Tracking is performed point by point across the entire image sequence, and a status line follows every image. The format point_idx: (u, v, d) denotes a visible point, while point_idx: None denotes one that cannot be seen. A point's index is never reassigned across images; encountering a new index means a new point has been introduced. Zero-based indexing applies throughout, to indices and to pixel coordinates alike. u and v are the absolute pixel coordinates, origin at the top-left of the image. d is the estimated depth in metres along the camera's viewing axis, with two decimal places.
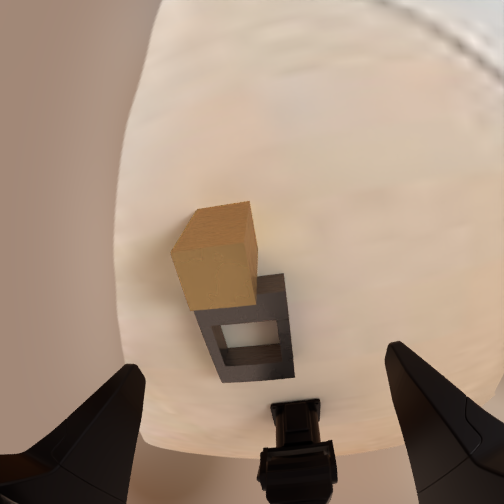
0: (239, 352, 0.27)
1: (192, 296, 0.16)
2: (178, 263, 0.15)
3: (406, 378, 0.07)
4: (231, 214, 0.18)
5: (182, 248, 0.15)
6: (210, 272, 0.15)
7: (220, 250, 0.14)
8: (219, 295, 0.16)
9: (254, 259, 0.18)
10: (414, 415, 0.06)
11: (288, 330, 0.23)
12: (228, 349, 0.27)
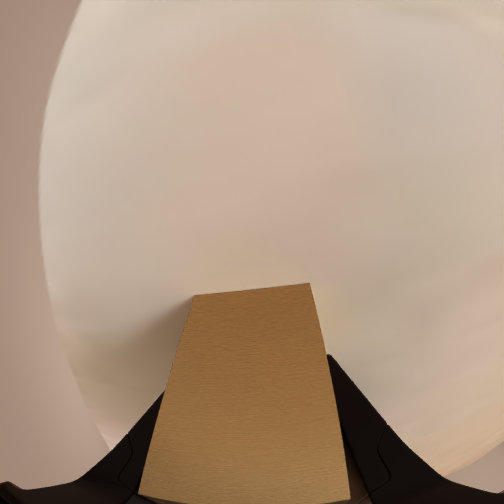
0: None
1: None
2: (163, 503, 0.04)
3: None
4: (281, 340, 0.07)
5: (168, 486, 0.04)
6: None
7: None
8: None
9: None
10: None
11: None
12: None
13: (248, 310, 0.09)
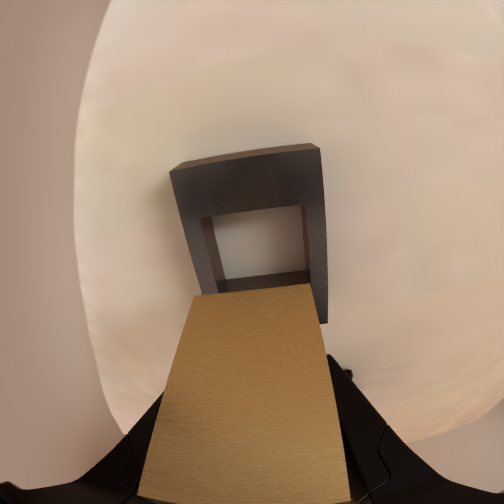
0: (243, 283, 0.18)
1: None
2: None
3: None
4: (281, 340, 0.07)
5: (167, 488, 0.04)
6: None
7: None
8: None
9: None
10: None
11: (323, 226, 0.14)
12: (226, 281, 0.19)
13: (248, 310, 0.08)
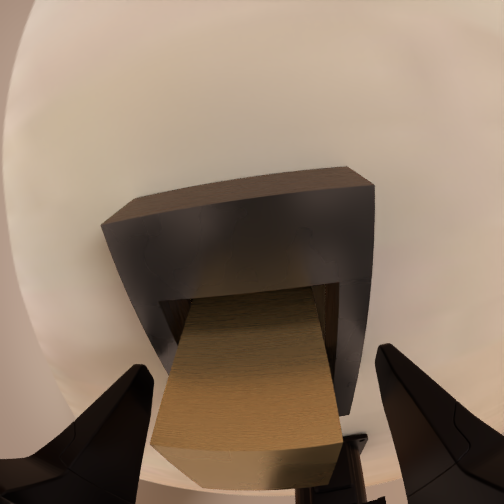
0: None
1: (206, 481, 0.06)
2: (172, 457, 0.05)
3: (395, 381, 0.07)
4: (279, 309, 0.08)
5: (178, 435, 0.05)
6: (248, 471, 0.05)
7: (278, 454, 0.04)
8: (261, 483, 0.06)
9: None
10: (403, 418, 0.06)
11: (364, 313, 0.08)
12: None
13: None
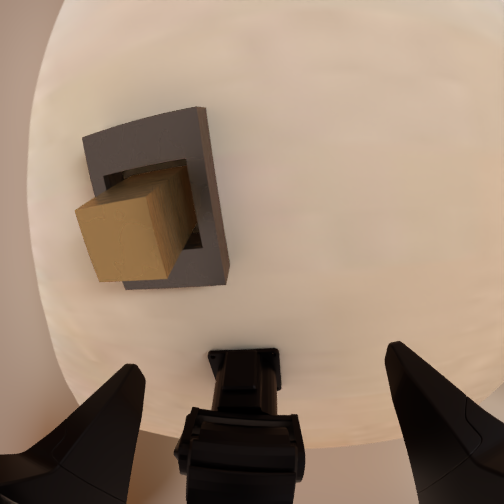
0: None
1: (99, 263, 0.12)
2: (82, 223, 0.11)
3: (406, 378, 0.07)
4: (158, 176, 0.15)
5: (87, 206, 0.11)
6: (114, 235, 0.12)
7: (121, 207, 0.11)
8: (125, 264, 0.12)
9: (179, 228, 0.15)
10: (414, 415, 0.06)
11: (205, 179, 0.15)
12: None
13: (152, 173, 0.16)
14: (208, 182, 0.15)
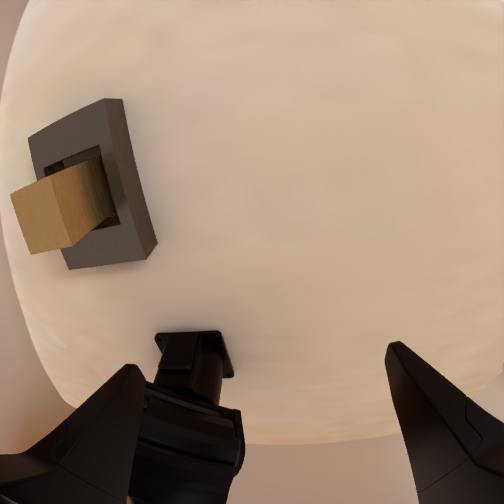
0: None
1: (28, 237, 0.12)
2: (15, 204, 0.12)
3: (406, 378, 0.07)
4: None
5: (18, 190, 0.11)
6: (34, 211, 0.12)
7: (36, 186, 0.11)
8: (44, 236, 0.12)
9: (95, 205, 0.15)
10: (414, 415, 0.06)
11: (114, 160, 0.15)
12: None
13: None
14: (118, 163, 0.15)
